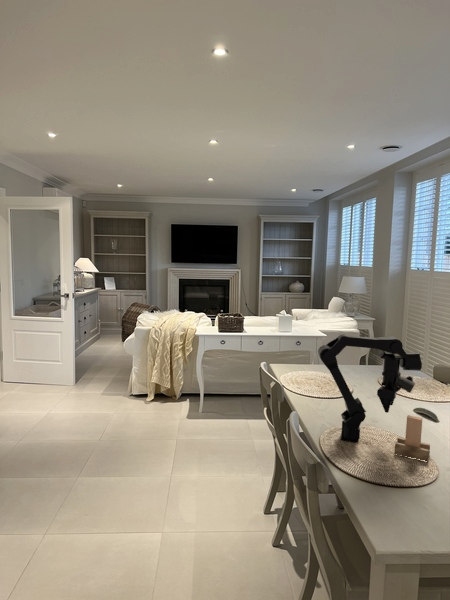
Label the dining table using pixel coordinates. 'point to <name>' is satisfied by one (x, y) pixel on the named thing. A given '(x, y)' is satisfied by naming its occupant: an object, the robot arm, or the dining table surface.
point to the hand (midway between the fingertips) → (388, 408)
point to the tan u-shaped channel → (412, 450)
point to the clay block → (413, 431)
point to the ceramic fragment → (427, 412)
